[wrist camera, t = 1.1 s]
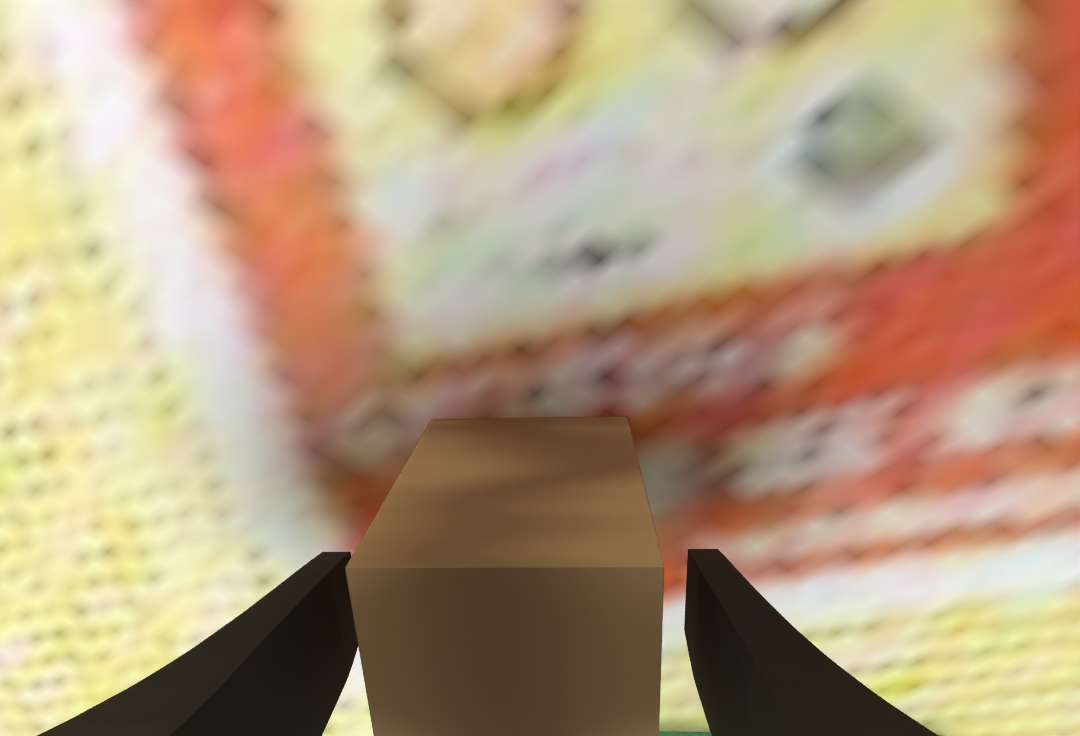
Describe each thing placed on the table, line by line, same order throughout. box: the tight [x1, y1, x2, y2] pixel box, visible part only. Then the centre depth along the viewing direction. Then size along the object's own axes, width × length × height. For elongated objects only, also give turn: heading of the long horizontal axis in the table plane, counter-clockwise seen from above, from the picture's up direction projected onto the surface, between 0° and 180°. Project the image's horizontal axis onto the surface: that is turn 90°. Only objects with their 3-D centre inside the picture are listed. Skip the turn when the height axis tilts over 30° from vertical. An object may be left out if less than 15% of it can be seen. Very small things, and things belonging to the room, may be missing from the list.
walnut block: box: [345, 416, 664, 736], centre depth 13 cm, size 5×5×6 cm
